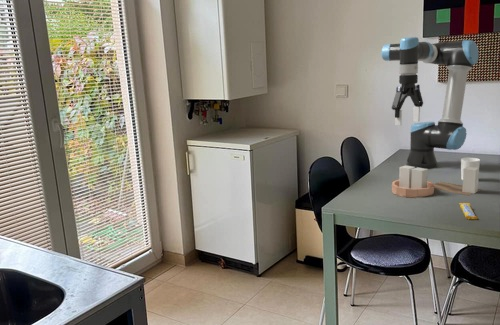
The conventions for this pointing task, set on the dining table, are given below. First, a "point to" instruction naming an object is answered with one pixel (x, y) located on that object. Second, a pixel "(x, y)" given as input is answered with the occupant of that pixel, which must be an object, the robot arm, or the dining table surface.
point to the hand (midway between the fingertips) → (407, 123)
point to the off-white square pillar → (470, 179)
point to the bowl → (412, 190)
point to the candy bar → (468, 211)
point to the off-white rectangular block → (419, 178)
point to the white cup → (469, 164)
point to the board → (451, 188)
